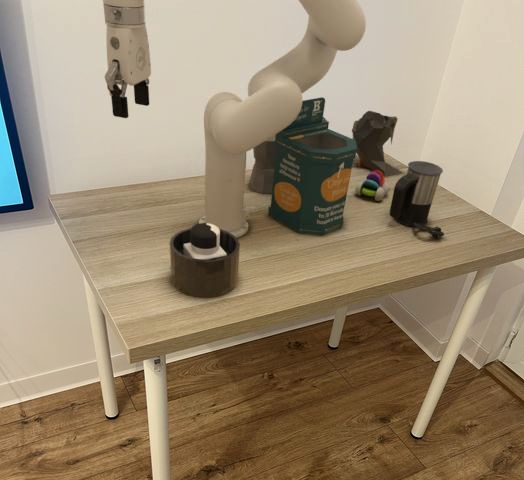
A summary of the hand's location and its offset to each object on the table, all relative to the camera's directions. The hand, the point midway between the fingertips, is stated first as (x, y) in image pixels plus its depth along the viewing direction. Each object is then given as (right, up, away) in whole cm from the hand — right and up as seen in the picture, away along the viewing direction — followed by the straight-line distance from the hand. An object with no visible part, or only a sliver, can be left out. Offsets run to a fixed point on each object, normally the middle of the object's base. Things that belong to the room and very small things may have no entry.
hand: (131, 110), depth 112 cm
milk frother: (+70, -17, +33) cm, 79 cm away
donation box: (+40, -16, +31) cm, 53 cm away
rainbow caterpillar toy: (+60, -5, +46) cm, 75 cm away
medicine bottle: (+15, -35, +4) cm, 38 cm away
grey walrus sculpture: (+63, +10, +63) cm, 90 cm away
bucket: (+15, -35, +4) cm, 38 cm away
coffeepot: (+29, -3, +44) cm, 52 cm away
